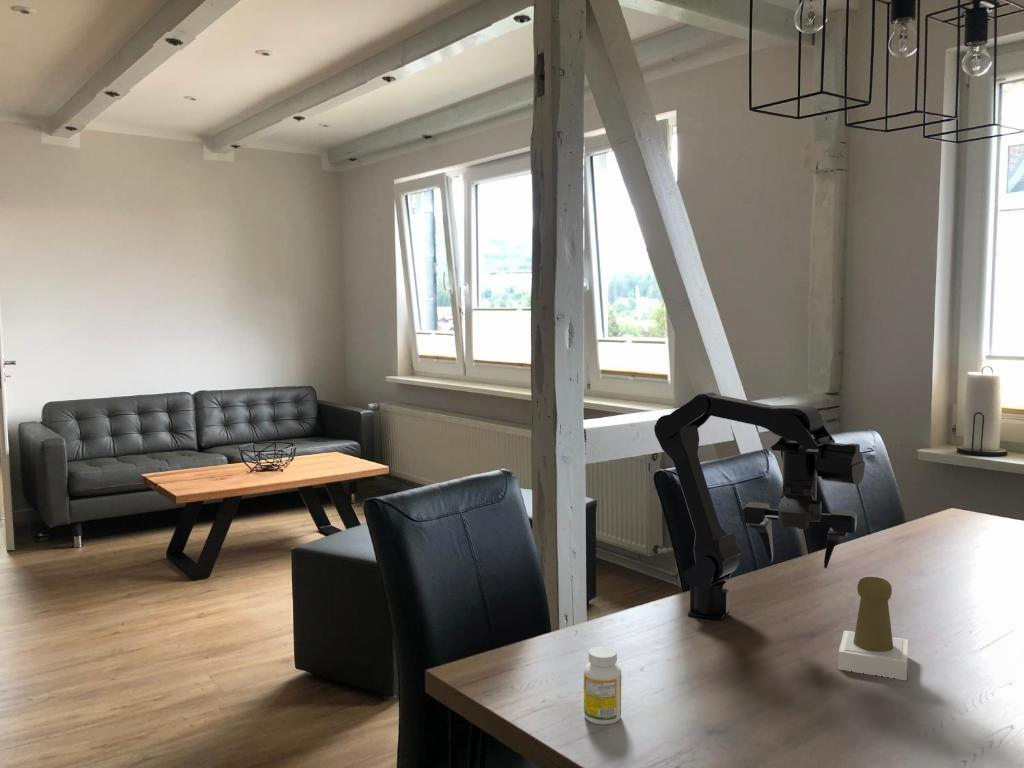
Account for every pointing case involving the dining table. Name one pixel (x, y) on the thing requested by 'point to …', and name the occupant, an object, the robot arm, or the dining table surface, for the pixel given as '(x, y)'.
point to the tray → (874, 658)
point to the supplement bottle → (602, 687)
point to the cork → (874, 615)
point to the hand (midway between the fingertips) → (798, 564)
